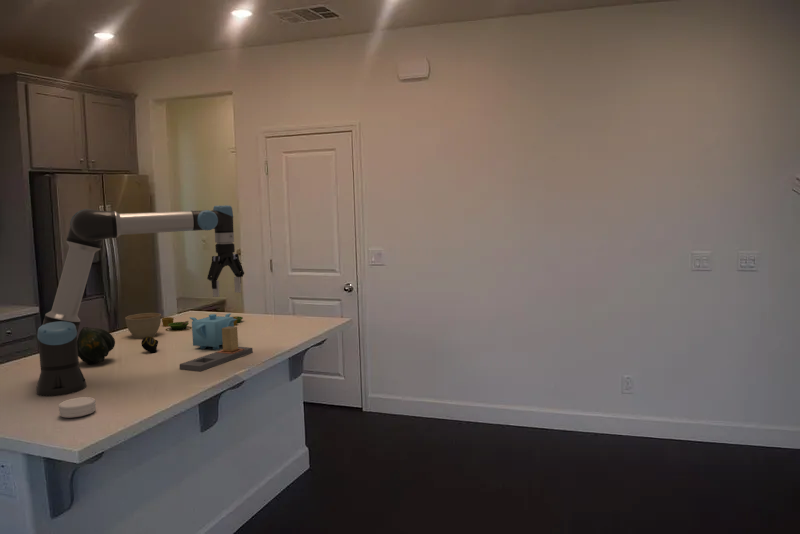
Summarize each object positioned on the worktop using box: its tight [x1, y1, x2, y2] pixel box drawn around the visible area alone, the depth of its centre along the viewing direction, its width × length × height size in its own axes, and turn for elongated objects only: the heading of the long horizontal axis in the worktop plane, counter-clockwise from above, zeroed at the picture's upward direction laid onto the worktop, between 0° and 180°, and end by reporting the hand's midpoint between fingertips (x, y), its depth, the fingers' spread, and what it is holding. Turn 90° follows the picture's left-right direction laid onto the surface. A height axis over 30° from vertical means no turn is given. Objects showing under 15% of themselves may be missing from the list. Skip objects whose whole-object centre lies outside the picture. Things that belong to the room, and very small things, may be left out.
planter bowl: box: [124, 312, 162, 340], centre depth 296 cm, size 16×16×11 cm
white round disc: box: [58, 396, 97, 419], centre depth 185 cm, size 10×10×4 cm
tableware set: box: [161, 315, 244, 332], centre depth 321 cm, size 41×28×6 cm
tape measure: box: [140, 336, 159, 354], centre depth 264 cm, size 7×7×4 cm
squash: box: [77, 326, 116, 365], centre depth 246 cm, size 14×15×15 cm
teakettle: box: [189, 312, 237, 351], centre depth 272 cm, size 19×19×15 cm
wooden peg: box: [222, 326, 239, 353], centre depth 253 cm, size 4×4×12 cm
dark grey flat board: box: [179, 346, 254, 372], centre depth 246 cm, size 32×10×2 cm, turn 156°
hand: (227, 294), depth 251 cm, fingers open, 13 cm apart
